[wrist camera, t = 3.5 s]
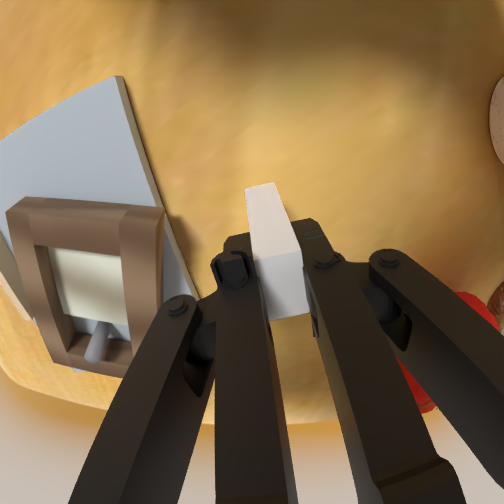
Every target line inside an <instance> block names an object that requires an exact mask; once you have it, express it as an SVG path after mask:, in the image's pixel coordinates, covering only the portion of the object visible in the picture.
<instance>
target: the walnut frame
mask: <svg viewBox="0 0 504 504" xmlns="http://www.w3.org/2000/svg"><path fill="white" fill-rule="evenodd" d="M5 214H6V219H7V224H8V229H9V234H10V239H11V243H12V247H13V251H14V255H15V259H16V263H17V266H18V270H19V273H20V277H21V280H22V283H23V286H24V290H25V293H26V296H27V299H28V301H29V304H30V307H31V310H32V313H33V315H34V318H35V320H36V323H37V326H38V328H39V331H40V333H41V335H42V338H43V340H44V342H45V345H46V347H47V349H48V351H49V354H50V356H51V358H52V360H53V362H54V363H57V364H61V365H65V366H69V367H72V368H76V369H81V370H85V371H89V372H94V373H98V374H103V375H108V376H113V377H118V378H124V376H125V374H126V372H127V370H128V368H129V366H130V364H131V362H132V360H133V358H134V356H135V354H136V352H137V350H138V348H139V346H140V344H141V342H142V340H143V338H144V337H145V335H146V333H147V331H148V329H149V327H150V325H151V323H152V321H153V319H154V318H155V316H156V314H157V312H158V310H159V308H160V307H161V306H162V304H163V249H164V217H165V208H163V207H153V206H143V205H133V204H122V203H111V202H99V201H87V200H74V199H60V198H45V197H28V196H25V197H24V198H22V199H21V200H20V201H18V202H17V203H16V204H15V205H13V206H12V207H11V208H10V209H8V210H7V211H6V212H5ZM71 315H73V316H78V317H83V318H88V319H93V320H99V321H104V322H110V323H116V324H122V325H128V327H129V333H130V340H131V342H125V341H119V340H114V339H108V338H107V341H106V344H105V347H104V350H103V353H102V356H101V359H100V362H99V364H97V365H94V364H90V363H89V362H87V361H86V360H85V358H84V355H85V353H86V350H87V348H88V345H89V342H90V340H91V337H92V335H87V334H83V333H78V332H76V331H75V328H74V325H73V321H72V318H71Z"/></svg>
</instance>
